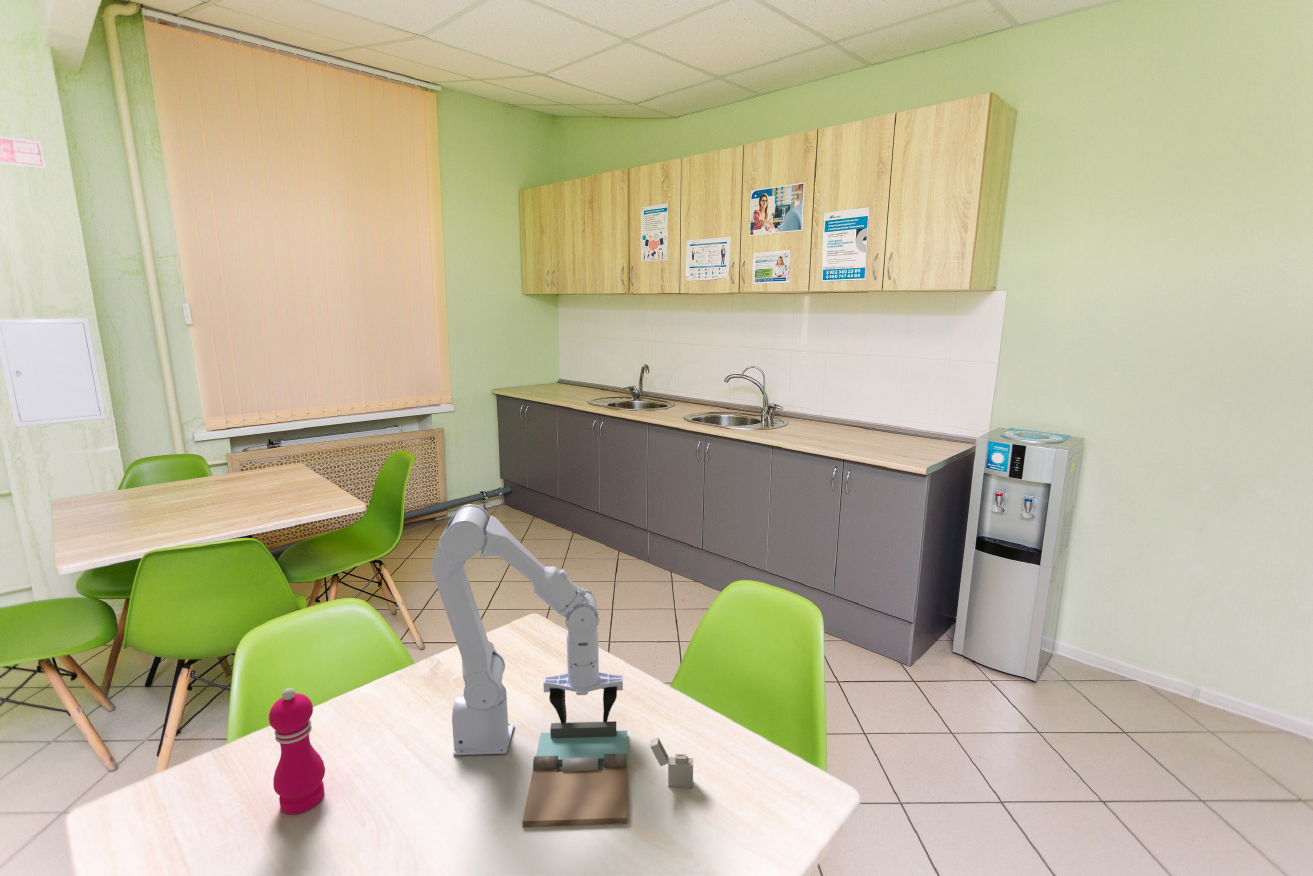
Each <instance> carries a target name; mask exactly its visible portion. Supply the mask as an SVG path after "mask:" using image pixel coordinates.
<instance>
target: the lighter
mask: <svg viewBox="0 0 1313 876" xmlns="http://www.w3.org/2000/svg"><path fill="white" fill-rule="evenodd" d="M650 749H651V751H652V753H653V754H654V757H655V758H656V760H657V762H658V764H659V766H660V767H663V766H666V765H667V766H668V767H667V770H668V771H667V778H668V779H667V784H668V785H667V786H668V788H682V789H683V788H684V789H685V788H686V789H692V788H694V758H693V757H689V756H687V754H686V753H675V754H674V756H670V757H669V755H668V752H667V751H666V748H665V747H664V745H663V743H662V742H661V740H660V738H659V737H655V738H653V739H651V740H650Z"/></svg>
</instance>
